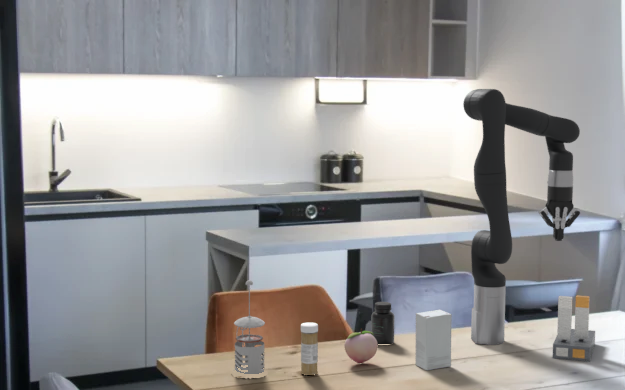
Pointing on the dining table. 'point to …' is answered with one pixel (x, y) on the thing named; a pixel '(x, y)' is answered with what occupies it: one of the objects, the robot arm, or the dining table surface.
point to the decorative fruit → (361, 346)
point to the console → (574, 347)
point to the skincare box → (433, 339)
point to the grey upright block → (564, 317)
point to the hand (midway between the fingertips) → (558, 240)
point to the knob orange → (581, 317)
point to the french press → (249, 344)
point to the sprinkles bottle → (309, 348)
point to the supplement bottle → (383, 323)
